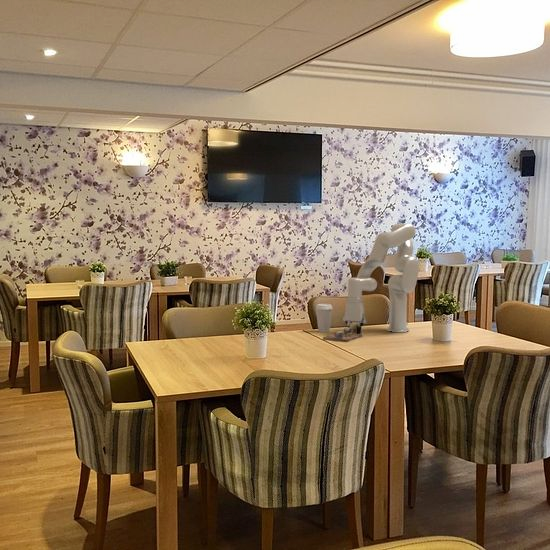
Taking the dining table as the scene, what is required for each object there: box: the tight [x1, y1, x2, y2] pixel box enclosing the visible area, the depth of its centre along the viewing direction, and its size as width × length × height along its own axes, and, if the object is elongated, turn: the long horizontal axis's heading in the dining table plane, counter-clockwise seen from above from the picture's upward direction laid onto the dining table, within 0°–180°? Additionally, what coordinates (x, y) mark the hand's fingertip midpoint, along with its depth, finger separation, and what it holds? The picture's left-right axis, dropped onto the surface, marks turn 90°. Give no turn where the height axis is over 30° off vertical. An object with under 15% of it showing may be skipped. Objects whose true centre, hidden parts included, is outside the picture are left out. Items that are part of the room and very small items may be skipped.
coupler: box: [350, 321, 358, 334], centre depth 341 cm, size 4×5×6 cm
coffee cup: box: [315, 303, 333, 333], centre depth 349 cm, size 10×10×15 cm
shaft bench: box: [322, 327, 363, 343], centre depth 329 cm, size 18×14×4 cm
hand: (354, 333), depth 341 cm, fingers closed on coupler, 4 cm apart
